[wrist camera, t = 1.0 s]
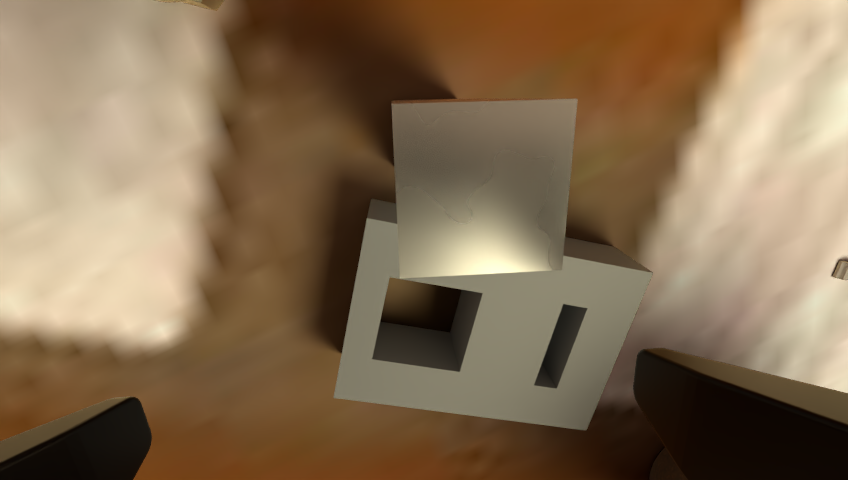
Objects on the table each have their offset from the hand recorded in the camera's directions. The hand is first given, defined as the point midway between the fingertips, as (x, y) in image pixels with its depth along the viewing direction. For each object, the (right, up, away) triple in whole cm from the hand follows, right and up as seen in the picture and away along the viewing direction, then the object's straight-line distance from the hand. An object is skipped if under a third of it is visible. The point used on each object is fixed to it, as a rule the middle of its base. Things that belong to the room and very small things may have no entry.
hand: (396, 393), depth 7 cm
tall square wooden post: (+1, +8, +12) cm, 14 cm away
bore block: (+3, -1, +15) cm, 15 cm away
